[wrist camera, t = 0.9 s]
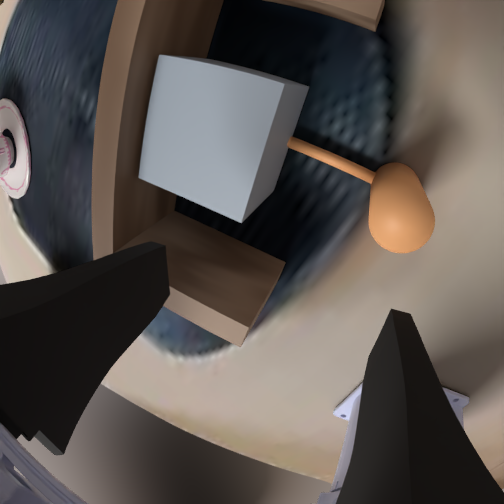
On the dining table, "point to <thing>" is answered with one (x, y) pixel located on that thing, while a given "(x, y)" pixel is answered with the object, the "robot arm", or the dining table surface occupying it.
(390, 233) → the pull block
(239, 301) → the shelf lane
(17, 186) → the teacup
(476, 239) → the dining table surface
